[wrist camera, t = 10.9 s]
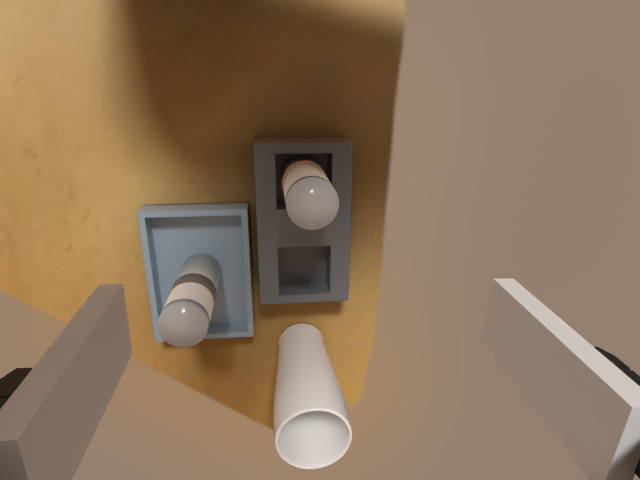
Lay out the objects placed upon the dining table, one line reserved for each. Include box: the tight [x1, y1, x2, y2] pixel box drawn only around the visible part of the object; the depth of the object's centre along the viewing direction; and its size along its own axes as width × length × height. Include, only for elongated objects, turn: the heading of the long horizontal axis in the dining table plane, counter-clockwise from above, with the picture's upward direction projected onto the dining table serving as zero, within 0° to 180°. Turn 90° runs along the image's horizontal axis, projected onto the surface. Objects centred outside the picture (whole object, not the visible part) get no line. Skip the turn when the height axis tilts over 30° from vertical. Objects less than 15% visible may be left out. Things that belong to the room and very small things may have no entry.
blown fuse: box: [157, 253, 222, 347], centre depth 40 cm, size 4×4×11 cm
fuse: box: [281, 155, 339, 230], centre depth 38 cm, size 4×4×11 cm
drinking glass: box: [273, 323, 352, 469], centre depth 44 cm, size 7×7×15 cm
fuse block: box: [253, 138, 353, 305], centre depth 44 cm, size 16×9×4 cm, turn 0°
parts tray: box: [137, 202, 254, 342], centre depth 45 cm, size 14×10×2 cm
